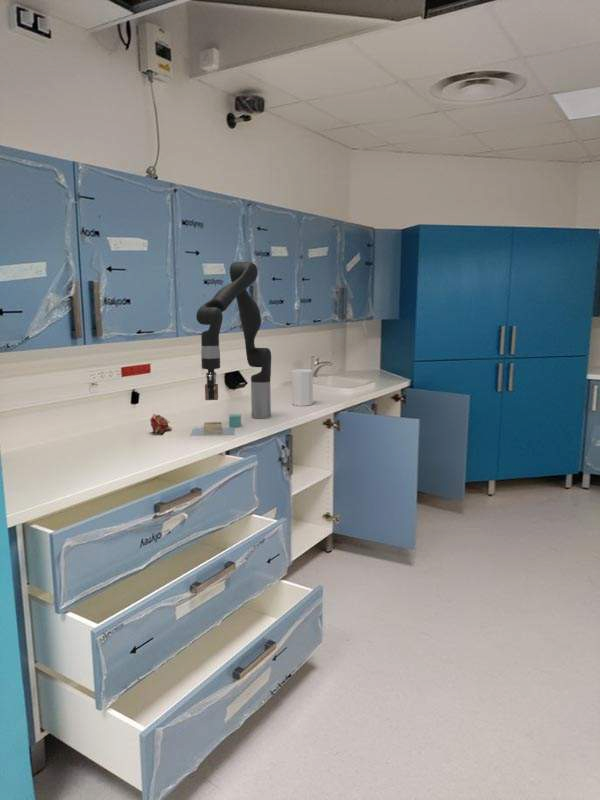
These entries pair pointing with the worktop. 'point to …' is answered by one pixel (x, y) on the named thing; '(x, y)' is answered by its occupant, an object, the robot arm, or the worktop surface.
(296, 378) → the cup
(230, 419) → the block teal
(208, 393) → the block walnut
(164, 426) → the flower
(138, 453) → the worktop surface
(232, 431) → the board
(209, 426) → the base block
